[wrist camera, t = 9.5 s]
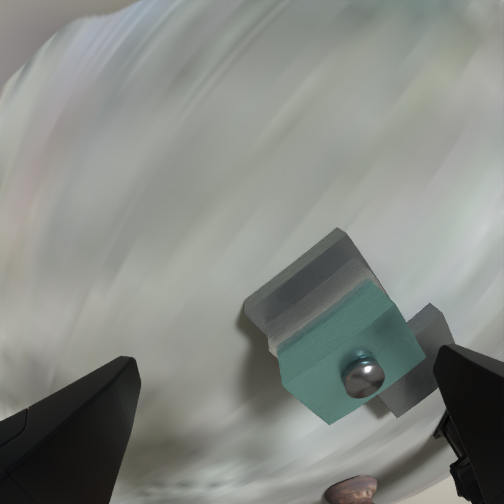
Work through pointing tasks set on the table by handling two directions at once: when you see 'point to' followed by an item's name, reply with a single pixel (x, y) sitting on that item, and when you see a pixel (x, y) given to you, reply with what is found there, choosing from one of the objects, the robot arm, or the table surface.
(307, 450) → the table surface
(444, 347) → the robot arm
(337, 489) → the mortar and pestle
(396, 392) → the stand
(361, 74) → the table surface
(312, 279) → the stand
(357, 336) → the housing
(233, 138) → the table surface
